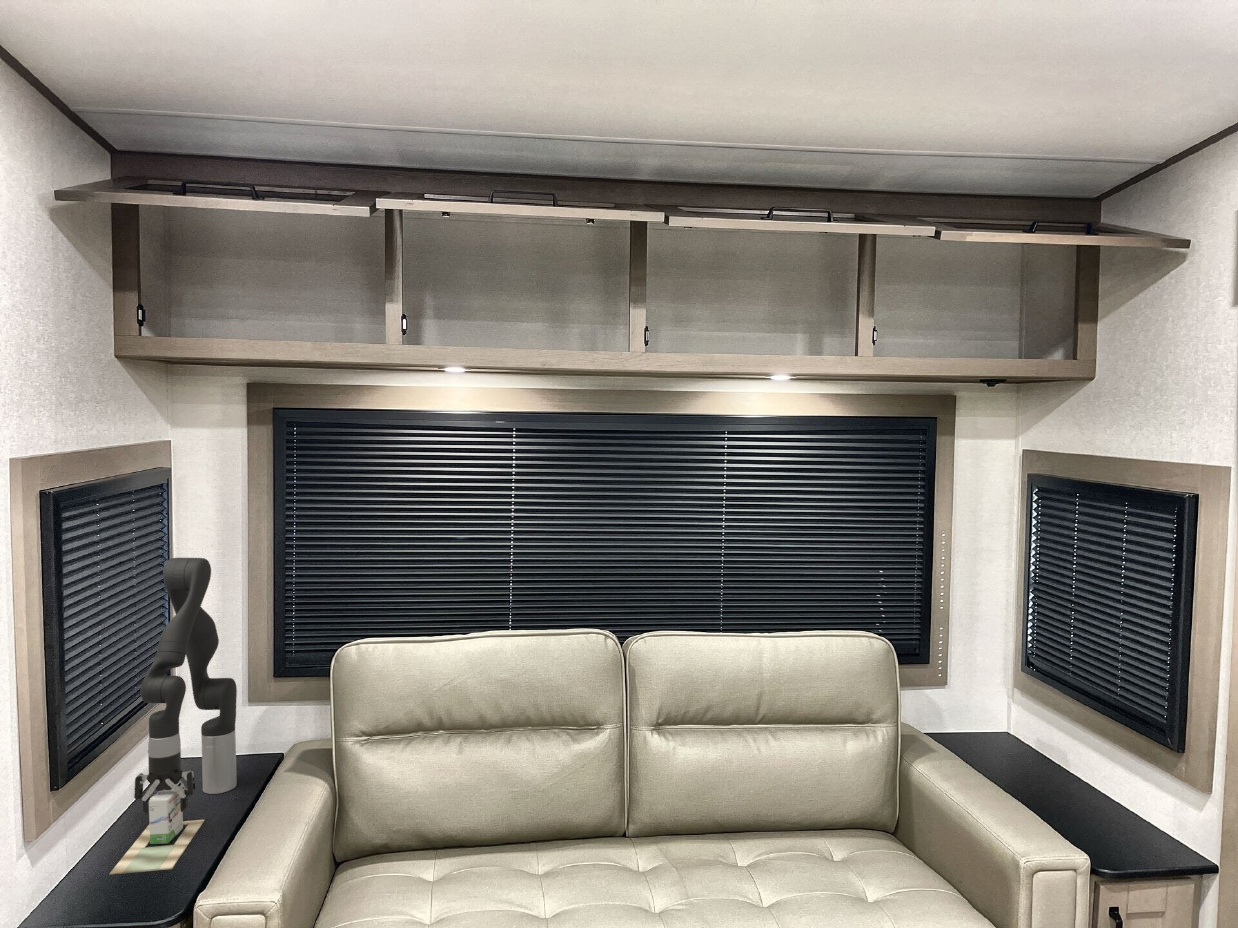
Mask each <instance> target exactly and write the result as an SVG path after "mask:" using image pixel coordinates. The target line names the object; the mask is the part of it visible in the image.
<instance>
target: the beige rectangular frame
mask: <svg viewBox="0 0 1238 928" xmlns="http://www.w3.org/2000/svg"><path fill="white" fill-rule="evenodd" d="M204 822H205V819H196V820H194V819H193V820H185V821H183V827H184V826H186V827H185V829H183V831H182V832H181V834H180V835H179V837H178V838H177V840H176V841H175V842H174V844H169V845H160V846H148V844H150V824H148V825H147V826H146V828H145V829H144V830H143V831H142V833H140V835H139V836H138V838H137V839H136V840H135V841H134V843H133V844H132V845H131V846H130V847H129V849H128V850H127V851H126V852H125V854H124V855H123V856H122V858H120V860H119V861H118V863H117V864H115V866H114V867H113V869H112V870H111V871H110V873H109V875H121V874H131V873H132V874H133V873H144V872H154V871H164V870H173V869H174V867H175V866H176V864H177V862H178V860H179V859H180V858H181V856H182V855H183V854H184V852H185V850H186V849H187V847H188V846H189V844H190V843H191V841H192V840H193V838H194V837H195V836H196V834H197V833H198V831H199V830H200V829H201V827H202V825H203V823H204ZM147 846H148V847H147Z"/></svg>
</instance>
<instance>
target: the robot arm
mask: <svg viewBox="0 0 1238 928" xmlns="http://www.w3.org/2000/svg"><path fill="white" fill-rule="evenodd" d="M163 565H164V566H163V570H162V576H163V577H162V578H163V582H164V587H165V589H166V592H167V595H168V597H169V600H170V602H171V605H172V608H173V610H174V613H175V615H174V616H173V617H172V619H171V620H169V621H168V623H167V624H166V626H165V627H164V628H163V631H162V633H161V634H160V638H159V641H158V646H157V650H156V654H155V658H154V660H153V662H152V664H151V666H150V668H149V669H148V671H147V673H146V675H145V676H144V679H143V680H142V683H141V686H140V690H139V691H140V692H139V693H140V697H141V699H142V701H143V702H145V703H146V704H165V709H162V710H157V711H155V712H153V713H152V714H150V716H149V718H148V744H147V745H148V746H147V747H148V748H147V755H148V756H147V757H148V759H147V761H148V763H147V764H148V774H144V773H139V774H138V775H137V776H136V777H135V778H134V794H133V795H134V799H135V800H141V801H142V812H143V813H145V815H146V816H147V815H148V816H149V800H150V798H151V796H152V795H153V793H154V791H157V792H159V791H162V790H171V789H173V790H174V791H175V792H176V793H178V794H179V795H180V796H181V798H180V809H181V812H183V813H184V812H185V811H186V810H187V808H188V806H189V796H192V795H194V793H195V791H197V786H196V776H195V775H196V774H195V770H194V769H190V770H189V771H183V770H182V754H181V753H182V750H181V749H182V747H181V746H182V745H181V742H182V741H181V736H180V714H181V711H182V705H183V702H184V699H185V696H186V691H187V686H186V681H185V680H184V679H183V677H182V676H180V675H166V674H167V673H168V672H169V670H172V669H176V668H179V667H181V666H183V665H184V663H185V660H187V664H188V670H189V673H190V680H191V689H192V696H193V699H194V703H195V706H196V707H197V708H198V709H199V710H201V711H216V710H217V711H218V710H219V715H218V716H216V717H213V718H211V719H208V720H206V721H204V722H203V723H202V725H201V729H200V734H201V763H202V765H201V767H202V770H201V771H202V775H201V776H202V792H203V793H205V794H210V795H216V794H222V793H223V794H224V793H227V792H229V791H231V790H233V789H235V788H236V787H237V747H236V745H237V743H236V720H237V699H238V698H237V697H238V696H237V695H238V690H237V684H236V680H235V679H234V678H232V677H210V676H209V674H208V673H209V672H208V666H209V664H210V662H211V661H212V659H213V657H214V655H215V653H216V652H217V650H218V647H219V644H220V643H219V642H220V641H219V640H220V639H219V635H218V630H217V627H216V622H215V621H214V619H213V618H212V617H211V616H210V614H209V613H208V612H207V611H206V610H205V609H204V608H203V607H201V606H202V605H203V601H204V598H205V595H206V593H207V591H208V587H209V584H210V581H211V576H212V568H211V563H210V561H209V560H208V559H207V558H205V557H204V558H203V557H172V558H169V559H168V560H166V562H165V563H164V564H163ZM182 778H184V780H185V781H186V783H187V784H186V785H187V787H185V784H184V783H183V782H182ZM146 781H147V782H148V783H149V784H150V787H149V788H148V789H147V791H146V792H144V783H146Z"/></svg>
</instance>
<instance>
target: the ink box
mask: <svg viewBox="0 0 1238 928" xmlns="http://www.w3.org/2000/svg"><path fill="white" fill-rule="evenodd" d="M180 798H181V796H180V795H179V794H178V793H176V792H175V791H174V790H173V789H171V790H162V791H157V792H156V793H155V794H154V795H153V796H152V795H151V796H150V800H149V815H148V816H149V817H148V821H149V824H150V842H149V844H151V845H160V844H161V845H162V844H170V842H171V841H172V840H174V838H175V837H176V836H177V835H178V834H180V832H181V831H182V830H184V826H183V820H184V818H183V817H184V816H183V815H184V814H183V813H184V812H181V809H180ZM149 824H148V825H149Z"/></svg>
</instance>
